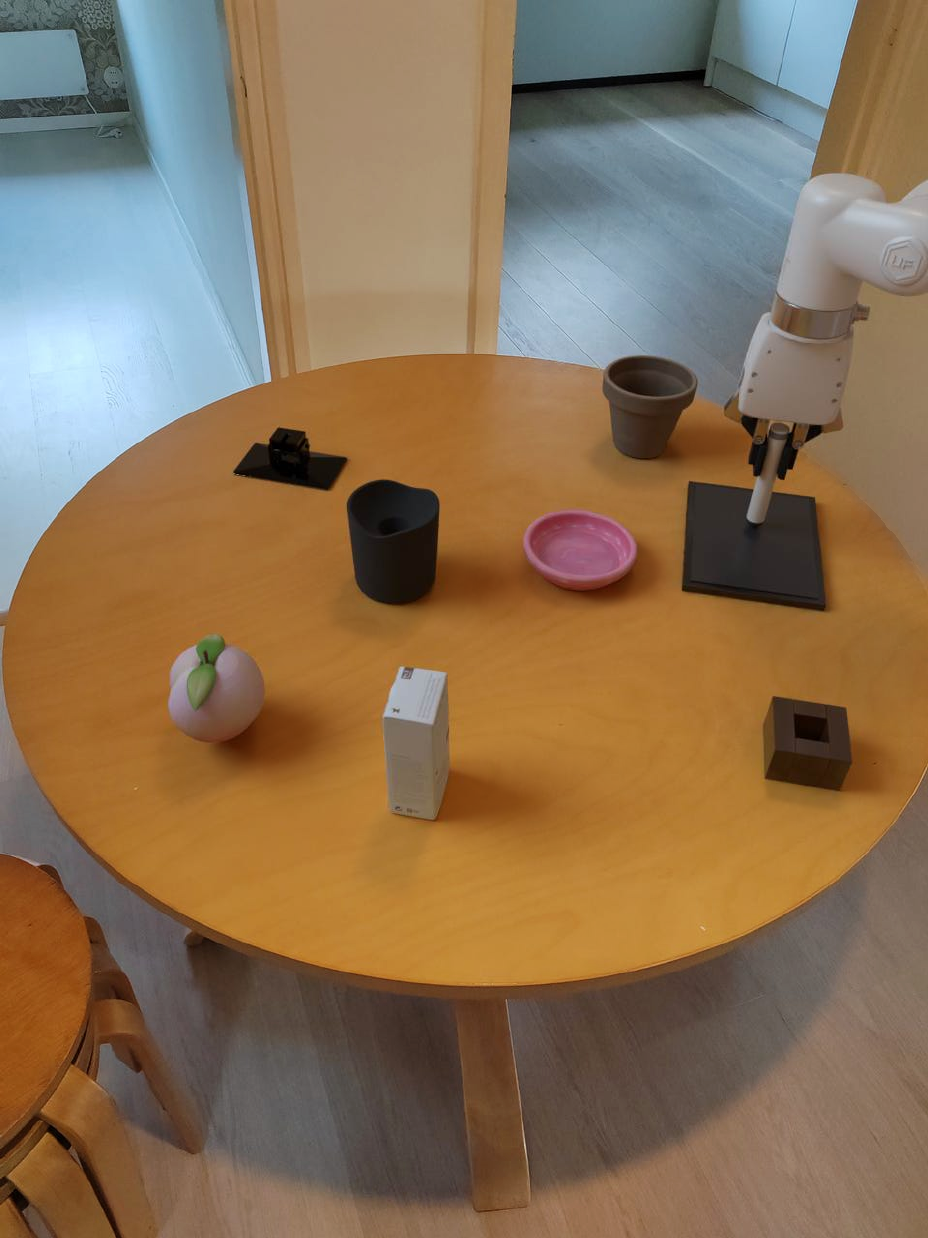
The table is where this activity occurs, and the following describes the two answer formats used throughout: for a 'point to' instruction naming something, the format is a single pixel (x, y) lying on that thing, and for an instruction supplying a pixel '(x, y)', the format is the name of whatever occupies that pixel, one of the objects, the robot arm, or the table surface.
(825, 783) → the pen stand
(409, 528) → the pen holder
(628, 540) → the saucer
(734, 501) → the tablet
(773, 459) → the stylus
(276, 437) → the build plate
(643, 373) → the flower pot
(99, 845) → the table surface
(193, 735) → the decorative fruit
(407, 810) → the cosmetic box
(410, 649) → the table surface
